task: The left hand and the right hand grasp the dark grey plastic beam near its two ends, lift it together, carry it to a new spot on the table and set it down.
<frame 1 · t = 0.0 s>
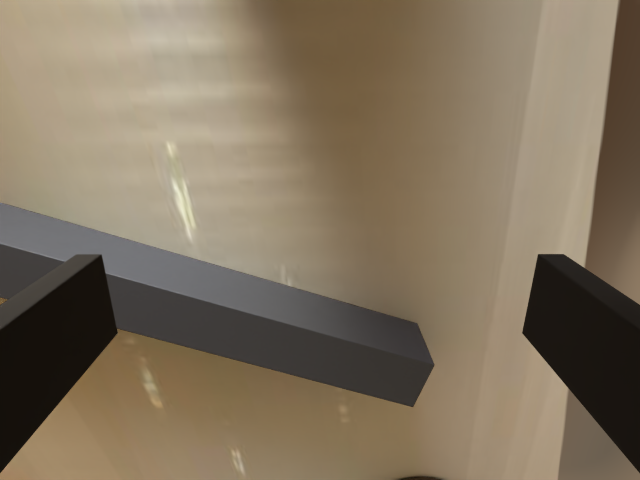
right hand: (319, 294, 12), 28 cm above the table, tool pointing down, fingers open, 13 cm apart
beam: (147, 268, 43), on the table
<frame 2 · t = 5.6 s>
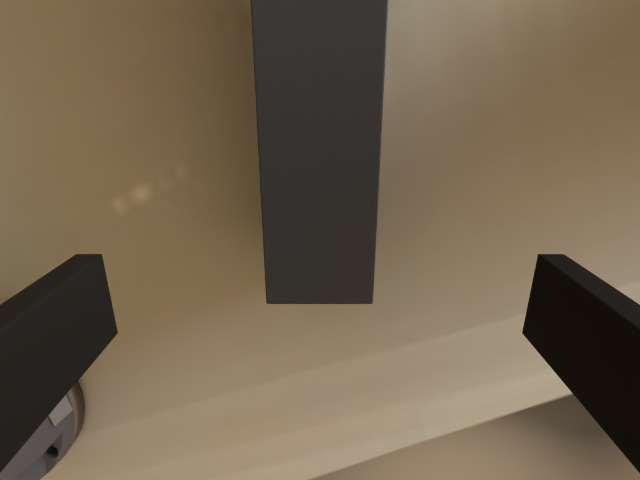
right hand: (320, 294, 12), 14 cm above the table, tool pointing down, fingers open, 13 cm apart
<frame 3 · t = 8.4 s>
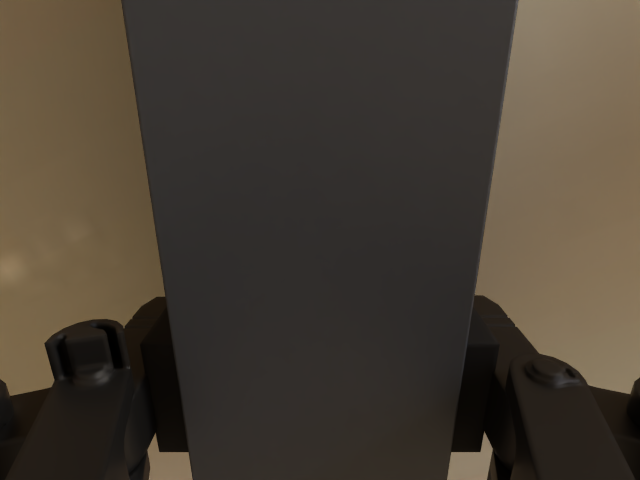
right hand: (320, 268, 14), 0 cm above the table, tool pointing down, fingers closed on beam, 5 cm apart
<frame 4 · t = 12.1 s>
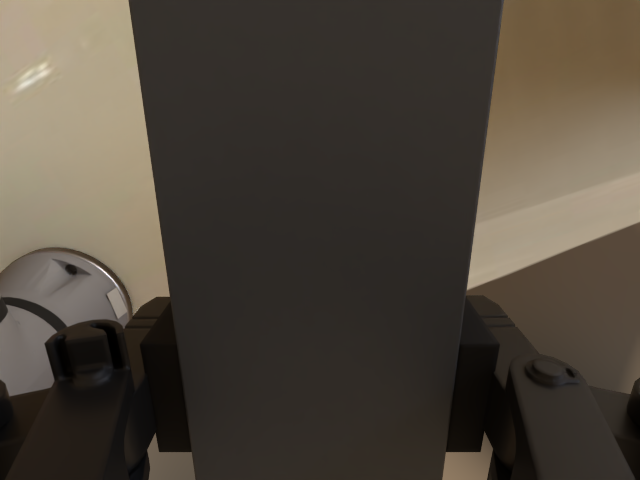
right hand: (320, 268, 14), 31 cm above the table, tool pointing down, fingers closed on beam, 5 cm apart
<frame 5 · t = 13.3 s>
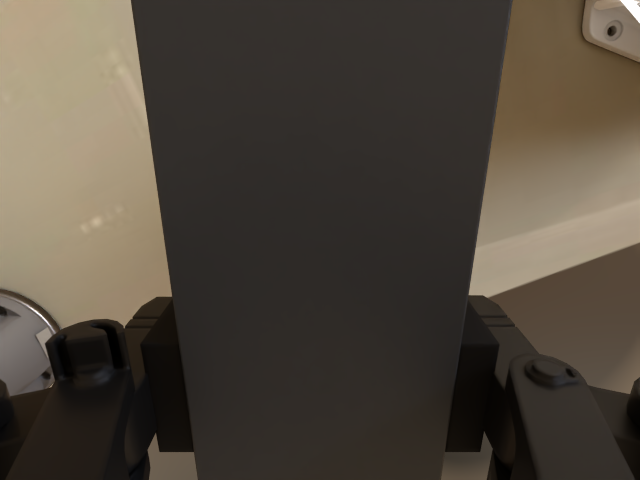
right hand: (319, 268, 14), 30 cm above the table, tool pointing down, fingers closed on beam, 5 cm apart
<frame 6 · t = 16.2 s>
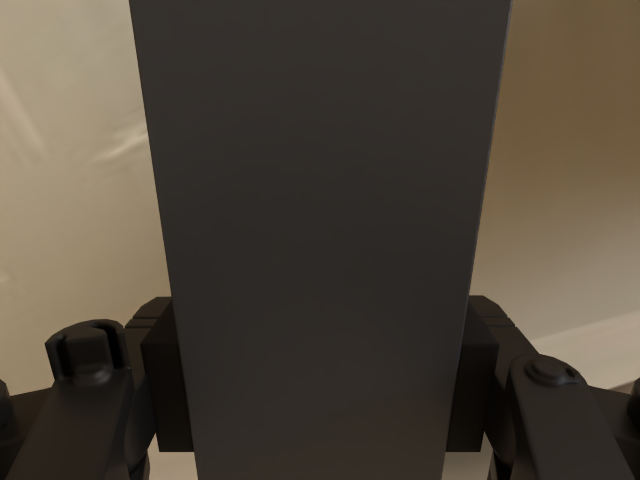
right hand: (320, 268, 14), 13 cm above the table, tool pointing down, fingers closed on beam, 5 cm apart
when the right hand's fingers open (2 cm above the table, at t = 18.7 s): beam drops 1 cm, on the table.
when the left hand's fingers open (4 cm above the table, at t = 18.9 s): beam stays where it is, on the table.
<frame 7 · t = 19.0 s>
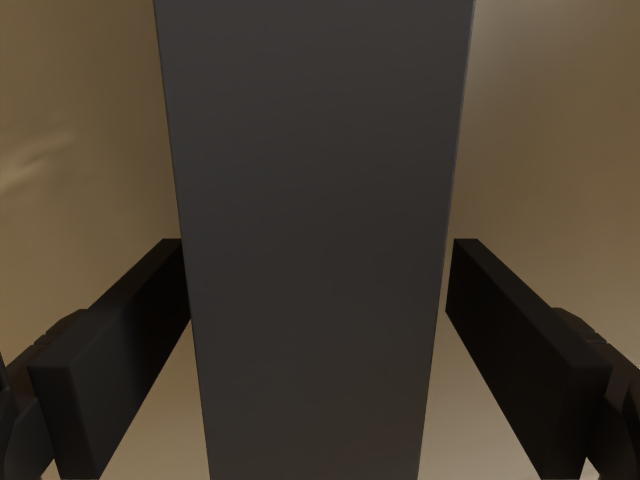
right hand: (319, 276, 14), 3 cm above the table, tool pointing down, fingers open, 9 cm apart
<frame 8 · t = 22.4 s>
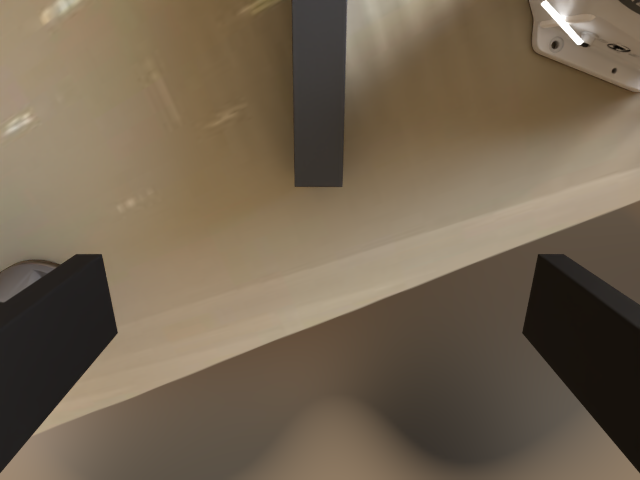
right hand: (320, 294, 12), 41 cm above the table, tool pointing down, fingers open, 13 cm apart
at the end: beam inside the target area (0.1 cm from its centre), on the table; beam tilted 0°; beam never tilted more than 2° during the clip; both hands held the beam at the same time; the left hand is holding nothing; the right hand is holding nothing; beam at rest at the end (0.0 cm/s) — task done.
